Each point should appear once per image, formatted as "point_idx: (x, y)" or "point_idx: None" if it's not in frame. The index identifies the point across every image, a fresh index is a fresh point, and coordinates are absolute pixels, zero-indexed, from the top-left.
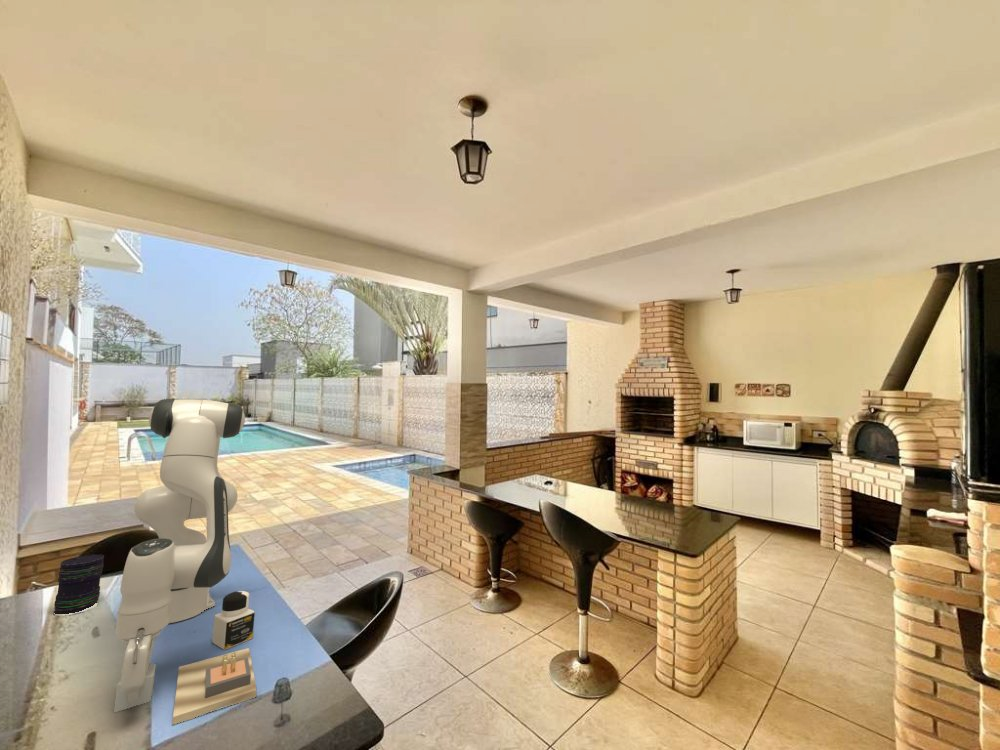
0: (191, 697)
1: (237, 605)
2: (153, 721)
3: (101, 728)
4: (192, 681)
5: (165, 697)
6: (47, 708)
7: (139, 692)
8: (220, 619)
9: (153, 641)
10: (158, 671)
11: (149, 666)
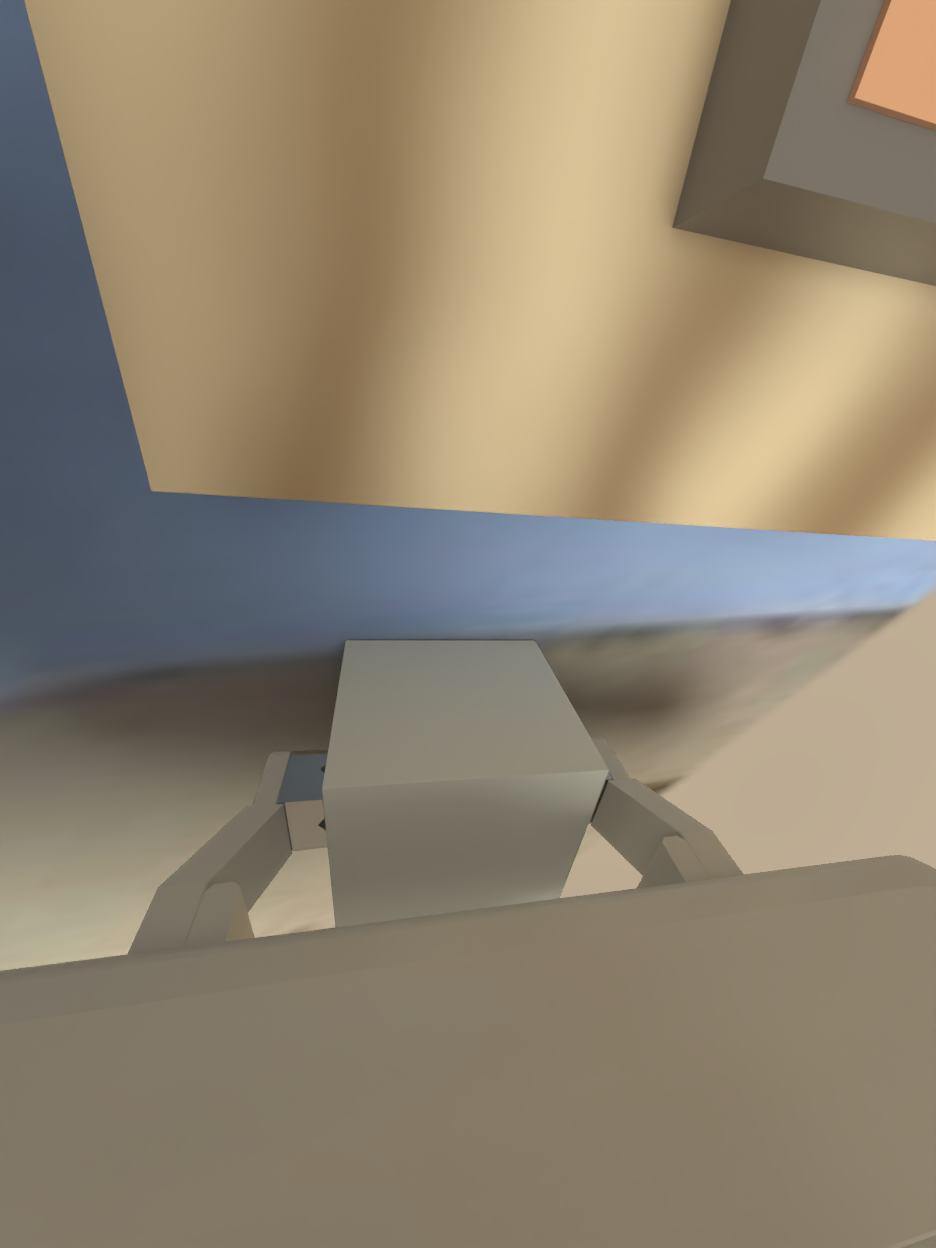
0: (870, 414)
1: None
2: (759, 610)
3: None
4: (614, 379)
5: (550, 564)
6: None
7: (619, 763)
8: None
9: (72, 1215)
10: (47, 627)
11: (361, 821)
